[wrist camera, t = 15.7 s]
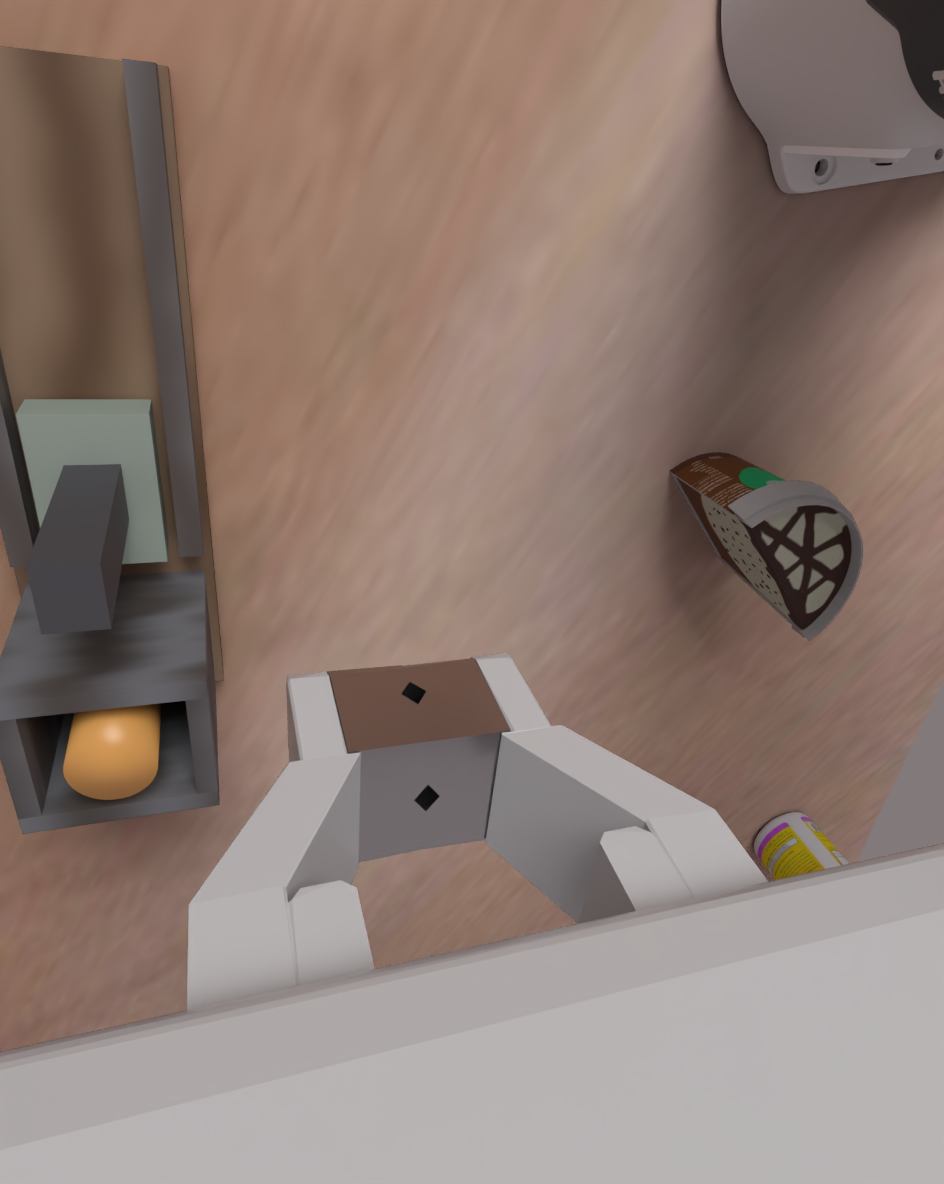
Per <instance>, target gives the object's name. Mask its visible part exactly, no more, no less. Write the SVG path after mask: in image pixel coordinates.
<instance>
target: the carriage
mask: <svg viewBox="0 0 944 1184" xmlns="http://www.w3.org/2000/svg"><path fill="white" fill-rule="evenodd" d="M16 418H17V422H18V427H19V431H20V436H21V441H22V445H23V450H24V455H25V459H26V464H27V468H28V473H29V478H30V482H31V487H32V492H33V496H34V501H35V505H36V510H37V515H38V519H39V524H40V530H39V533H38V536H37V538H36V541H35V544H34V547H33V549H32V552H31V555H30V557H29V560H28V563H27V565H26V571H27V575H28V579H29V583H30V588H31V592H32V596H33V601H34V605H35V609H36V613H37V618H38V622H39V626H40V630H41V635H43V634H55V633H67V632H80V631H92V630H105V629H112V623H113V617H114V611H115V604H116V598H117V592H118V586H119V580H120V574H121V568H122V564H132V563H150V562H167V561H168V546H169V540H168V532H167V524H166V516H165V508H164V500H163V491H162V483H161V475H160V467H159V459H158V451H157V443H156V434H155V426H154V418H153V410H152V402H151V399H24V401H23V403H22V405H21V406H20V408H19V410H18V411H17V413H16Z"/></svg>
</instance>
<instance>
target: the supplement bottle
mask: <svg viewBox="0 0 944 1184" xmlns="http://www.w3.org/2000/svg"><path fill="white" fill-rule="evenodd" d="M754 850H755V853H756V855H757V856H758V858H759V859H760V860H761V862H762V863H763V864H764V866H765V867H766V868H767V870H768V871H769V872H770V873H771V875H772V876H773V877H774V879H775V880H778V879H783V878H787V877H792V876H796V875H801V874H805V873H810V872H814V871H819V870H823V869H828V868H832V867H837V866H841V865H846V864H849V862H848V861H847V860H846V859H845V858H844V857H843V855H842V854H841V853H840V852H839V851H838V850H837V849H836V847H835V846H834V845H833V844H832V843H831V842H830V841H829V839H828V838H827V837H826V836H825V835H824V834H823V833H822V831H821V830H820V829H819V828H818V827H817V826H816V824H815V823H814V822H813V821H812V820H811V819H810V818H809V817H808V816H807V815H805V814H803V813H800V812H791V813H786V814H783V815H780V816H778V817H776V818H774V819H773V820H771V821H770V822H769V823H767V824H766V825H765V826H764V827H763V828H762V829H761V831H760V832H759V833H758V835H757V837H756V839H755V842H754Z"/></svg>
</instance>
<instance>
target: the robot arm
mask: <svg viewBox="0 0 944 1184" xmlns="http://www.w3.org/2000/svg"><path fill="white" fill-rule="evenodd" d="M721 30H722V42H723V50H724V56H725V61H726V66H727V70H728V73H729V77H730V80H731V83H732V86H733V88H734V91H735V93H736V95H737V98H738V99H739V101H740V103H741V105H742V107H743V109H744V110H745V112H746V113H747V115H748V116H749V117H750V119H751V120H752V121H753V123H754V124H755V125H756V127H757V128H758V129H759V131H760V132H761V134H762V136H763V137H764V139H765V141H766V143H767V147H768V152H769V157H770V162H771V167H772V171H773V174H774V178H775V181H776V183H777V185H778V187H779V188H780V190H781V191H783V192H784V193H787V194H802V193H809V192H816V191H822V190H828V189H835V188H841V187H848V186H854V185H860V184H867V183H873V182H879V181H886V180H892V179H898V178H905V177H911V176H917V175H924V174H930V173H936V172H943V171H944V0H722V3H721ZM818 161H819V162H820V167H819V170H818V171H817V173H816V174H815V166H816V164H817V162H818ZM286 692H287V722H288V748H289V762H288V764H287V765H286V767H285V768H284V769H283V771H282V772H281V774H280V775H279V777H278V778H277V779H276V781H275V782H274V784H273V785H272V787H271V788H270V789H269V791H268V792H267V794H266V795H265V797H264V798H263V799H262V801H261V802H260V804H259V805H258V807H257V808H256V809H255V811H254V812H253V814H252V815H251V817H250V818H249V819H248V821H247V822H246V824H245V825H244V826H243V828H242V829H241V831H240V832H239V834H238V835H237V836H236V838H235V839H234V841H233V842H232V844H231V845H230V846H229V848H228V849H227V851H226V852H225V854H224V855H223V856H222V858H221V859H220V861H219V862H218V864H217V865H216V866H215V868H214V869H213V871H212V872H211V874H210V875H209V876H208V878H207V879H206V881H205V882H204V884H203V885H202V886H201V888H200V889H199V891H198V892H197V894H196V895H195V896H194V898H193V899H192V901H191V902H190V904H189V921H188V980H187V1010H186V1011H181V1012H177V1013H172V1014H168V1015H163V1016H159V1017H154V1018H150V1019H145V1020H141V1021H136V1022H132V1023H127V1024H123V1025H118V1026H114V1027H109V1028H105V1029H100V1030H96V1031H91V1032H87V1033H82V1034H78V1035H73V1036H69V1037H64V1038H60V1039H55V1040H51V1041H46V1042H41V1043H37V1044H32V1045H28V1046H23V1047H19V1048H14V1049H10V1050H5V1051H1V1052H0V1184H944V843H941V844H936V845H932V846H928V847H923V848H918V849H914V850H909V851H905V852H900V853H896V854H891V855H887V856H882V857H878V858H873V859H869V860H864V861H859V862H855V863H850V864H846V865H841V866H837V867H832V868H828V869H823V870H819V871H814V872H810V873H805V874H801V875H796V876H792V877H787V878H783V879H778V880H774V881H769V882H768V880H767V879H766V878H765V876H764V875H763V874H762V872H761V871H760V870H759V868H758V867H757V866H756V864H755V863H754V862H753V860H752V859H751V857H750V856H749V855H748V853H747V852H746V851H745V849H744V848H743V847H742V845H741V844H740V843H739V841H738V840H737V839H736V837H735V836H734V835H733V833H732V832H731V830H730V829H729V828H728V826H727V825H726V824H725V822H724V821H723V820H722V818H721V817H720V816H719V814H718V813H717V812H716V810H715V809H713V808H711V807H709V806H708V805H706V804H704V803H702V802H700V801H699V800H697V799H695V798H693V797H691V796H689V795H688V794H686V793H684V792H682V791H680V790H679V789H677V788H675V787H673V786H671V785H670V784H668V783H666V782H664V781H662V780H660V779H659V778H657V777H655V776H653V775H651V774H650V773H648V772H646V771H644V770H642V769H640V768H639V767H637V766H635V765H633V764H631V763H630V762H628V761H626V760H624V759H622V758H620V757H619V756H617V755H615V754H613V753H611V752H610V751H608V750H606V749H604V748H602V747H600V746H599V745H597V744H595V743H593V742H591V741H590V740H588V739H586V738H584V737H582V736H581V735H579V734H577V733H575V732H573V731H571V730H570V729H568V728H566V727H564V726H562V725H558V726H551V724H550V722H549V721H548V719H547V717H546V716H545V714H544V712H543V711H542V709H541V707H540V706H539V704H538V702H537V700H536V699H535V697H534V695H533V694H532V692H531V690H530V689H529V687H528V685H527V683H526V682H525V680H524V678H523V677H522V675H521V673H520V672H519V670H518V668H517V667H516V665H515V663H514V661H513V660H512V658H511V656H509V655H508V654H506V653H499V654H491V655H483V656H476V657H471V658H470V659H461V660H452V661H443V662H433V663H424V664H415V665H405V666H401V665H399V666H387V667H375V668H363V669H350V670H338V671H327V673H326V672H317V673H307V674H296V675H287V682H286ZM481 840H486V842H485V843H486V844H487V845H489V846H490V847H491V848H492V849H493V850H494V851H495V852H497V853H498V854H499V855H500V856H501V857H502V858H503V859H505V860H506V861H507V862H508V863H509V864H510V865H511V866H513V867H514V868H515V869H516V870H517V871H518V872H520V873H521V874H522V875H523V876H524V877H525V878H526V879H528V880H529V881H530V882H531V883H532V884H533V885H534V886H536V887H537V888H538V889H539V890H540V891H541V892H542V893H544V894H545V895H546V896H547V897H548V898H549V899H551V900H552V901H553V902H554V903H555V904H556V905H557V906H559V907H560V908H561V909H562V910H563V911H564V912H565V913H567V914H568V915H569V916H570V917H571V918H572V919H573V920H575V921H576V922H577V923H578V924H574V925H570V926H565V927H561V928H556V929H552V930H547V931H543V932H538V933H534V934H529V935H525V936H520V937H516V938H511V939H507V940H502V941H498V942H493V943H489V944H484V945H480V946H475V947H471V948H466V949H462V950H457V951H452V952H448V953H443V954H439V955H434V956H430V957H425V958H421V959H416V960H412V961H407V962H403V963H398V964H394V965H389V966H385V967H380V968H376V969H374V964H373V960H372V955H371V950H370V946H369V941H368V937H367V932H366V928H365V923H364V919H363V914H362V909H361V905H360V900H359V896H358V891H357V888H356V887H354V886H352V885H351V883H352V880H353V878H354V876H355V873H356V871H357V869H358V862H363V861H368V860H373V859H377V858H382V857H387V856H392V855H397V854H402V853H407V852H411V851H416V850H421V849H428V848H434V847H441V846H448V845H454V844H461V843H468V842H474V841H481Z"/></svg>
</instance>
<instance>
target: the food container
mask: <svg viewBox="0 0 944 1184" xmlns="http://www.w3.org/2000/svg"><path fill="white" fill-rule="evenodd" d="M670 473H671V475H672V476H673V478H674V480H675V482H676V483H677V485H678V487H679V489H680V490H681V492H682V494H683V496H684V498H685V499H686V501H687V503H688V505H689V506H690V508H691V510H692V512H693V513H694V515H695V517H696V519H697V520H698V522H699V524H700V526H701V527H702V529H703V531H704V533H705V534H706V536H707V538H708V540H709V541H710V543H711V545H712V547H713V548H714V550H715V552H716V554H717V555H718V557H719V559H721V560H722V561H723V562H724V563H725V564H726V565H727V566H728V567H729V568H730V569H731V570H732V571H734V572H735V573H736V574H737V575H738V576H739V577H740V578H741V579H742V580H743V581H744V582H746V583H747V584H748V585H749V586H750V587H751V588H752V589H753V590H754V591H755V592H756V593H758V594H759V595H760V596H761V597H762V598H763V599H764V600H765V601H766V602H767V603H768V604H770V605H771V606H772V607H773V608H774V609H775V610H776V611H777V612H778V613H779V614H780V615H782V616H783V617H784V618H785V619H786V620H787V621H788V622H789V623H790V624H791V625H792V629H794V630H795V631H796V632H798V633H799V634H800V635H802V636H803V637H804V638H805V637H806V638H807V639H808V640H809V641H810V640H811V639H813V638H814V637H815V636H816V635H818V634H819V633H820V632H821V631H822V630H823V629H824V628H825V627H826V626H827V625H828V624H829V623H830V622H831V621H832V620H833V619H834V618H835V616H836V615H837V614H838V613H839V612H840V610H841V609H842V607H843V606H844V604H845V603H846V602H847V600H848V598H849V596H850V595H851V593H852V591H853V589H854V587H855V584H856V582H857V579H858V577H859V573H860V569H861V565H862V558H863V544H862V538H861V535H860V531H859V529H858V527H857V525H856V522H855V521H854V519H853V517H852V515H851V514H850V512H849V511H848V510H847V509H846V508H845V507H844V506H843V505H842V503H841V502H840V501H839V500H838V499H837V498H836V497H835V496H834V495H833V494H832V493H831V492H830V491H828V490H827V489H825V488H824V487H822V486H820V485H817V484H814V483H812V482H805V481H785V480H783V479H781V478H779V477H777V476H775V475H773V474H771V473H769V472H767V471H765V470H763V469H761V468H759V467H756V466H754V465H752V464H750V463H748V462H746V461H744V460H742V459H740V458H738V457H736V456H733V455H730V454H726V453H708V454H703V455H699V456H696V457H693V458H691V459H688V460H686V461H685V462H683V463H681V464H679V465H678V466H676V467H675V468H673V469H672V470H670Z"/></svg>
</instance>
